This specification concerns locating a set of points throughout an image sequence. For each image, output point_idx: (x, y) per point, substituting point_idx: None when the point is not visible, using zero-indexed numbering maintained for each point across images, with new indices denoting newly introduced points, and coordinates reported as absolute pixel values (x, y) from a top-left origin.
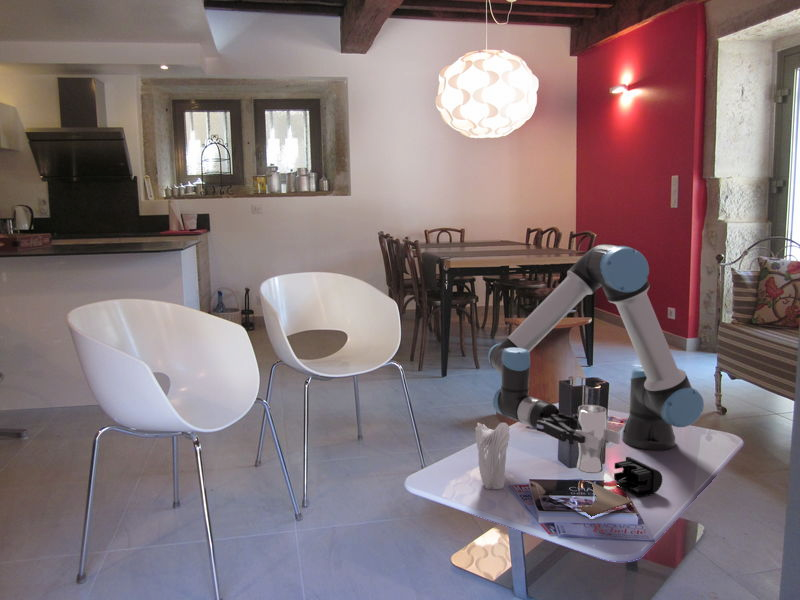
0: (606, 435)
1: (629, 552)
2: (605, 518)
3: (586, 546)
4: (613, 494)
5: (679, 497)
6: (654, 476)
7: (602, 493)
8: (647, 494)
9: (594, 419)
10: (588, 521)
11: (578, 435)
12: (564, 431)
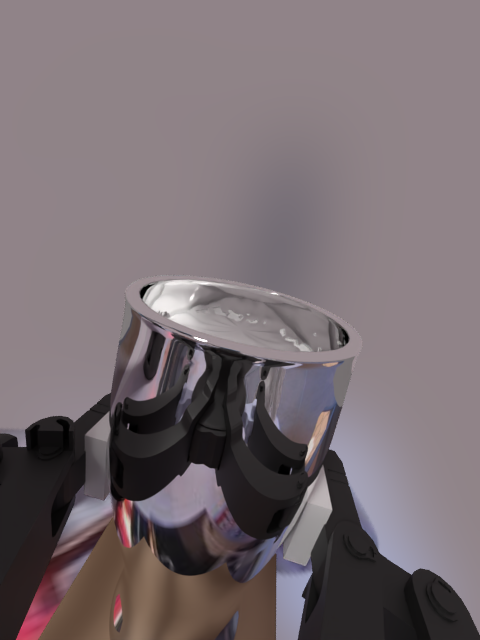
0: None
1: None
2: None
3: (360, 504)
4: (92, 578)
5: (18, 443)
6: None
7: (98, 626)
8: None
9: (294, 337)
10: (285, 564)
11: (332, 482)
12: (443, 583)
